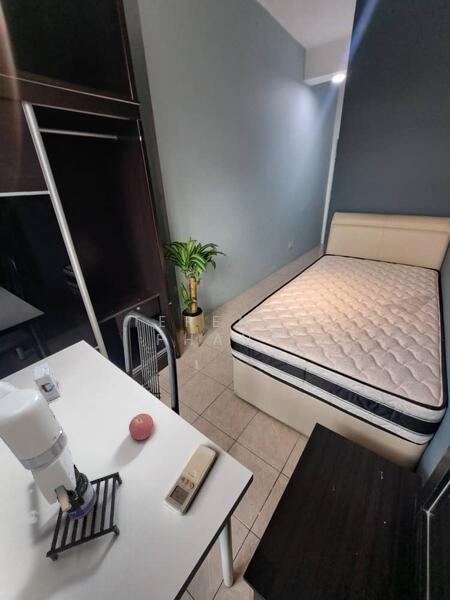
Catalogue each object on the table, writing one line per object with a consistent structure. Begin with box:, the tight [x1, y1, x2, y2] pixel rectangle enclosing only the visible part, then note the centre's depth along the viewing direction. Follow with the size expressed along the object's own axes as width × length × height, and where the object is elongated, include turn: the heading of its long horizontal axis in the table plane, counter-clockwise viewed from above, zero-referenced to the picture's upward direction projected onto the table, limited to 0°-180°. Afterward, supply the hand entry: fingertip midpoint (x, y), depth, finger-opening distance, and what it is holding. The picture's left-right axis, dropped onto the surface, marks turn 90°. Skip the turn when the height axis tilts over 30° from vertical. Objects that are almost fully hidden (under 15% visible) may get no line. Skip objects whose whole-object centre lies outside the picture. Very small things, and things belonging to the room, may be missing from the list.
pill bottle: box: [57, 468, 97, 521], centre depth 56 cm, size 6×6×11 cm
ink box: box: [32, 362, 61, 402], centre depth 96 cm, size 9×5×12 cm, turn 37°
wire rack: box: [45, 471, 123, 562], centre depth 61 cm, size 14×13×5 cm
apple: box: [128, 413, 154, 441], centre depth 79 cm, size 7×7×8 cm
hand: (74, 492), depth 56 cm, fingers closed on pill bottle, 6 cm apart
